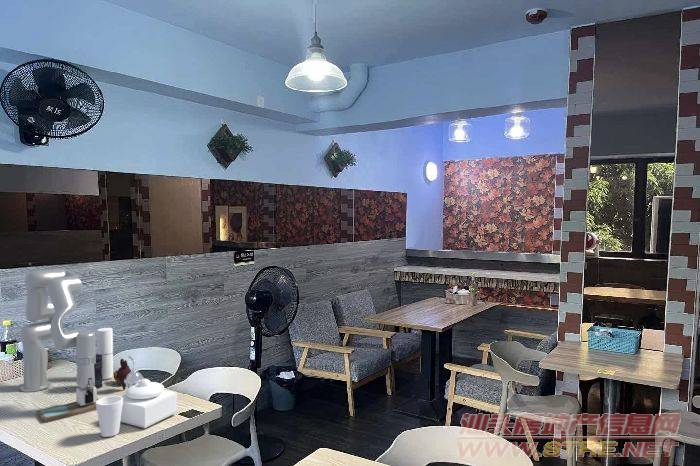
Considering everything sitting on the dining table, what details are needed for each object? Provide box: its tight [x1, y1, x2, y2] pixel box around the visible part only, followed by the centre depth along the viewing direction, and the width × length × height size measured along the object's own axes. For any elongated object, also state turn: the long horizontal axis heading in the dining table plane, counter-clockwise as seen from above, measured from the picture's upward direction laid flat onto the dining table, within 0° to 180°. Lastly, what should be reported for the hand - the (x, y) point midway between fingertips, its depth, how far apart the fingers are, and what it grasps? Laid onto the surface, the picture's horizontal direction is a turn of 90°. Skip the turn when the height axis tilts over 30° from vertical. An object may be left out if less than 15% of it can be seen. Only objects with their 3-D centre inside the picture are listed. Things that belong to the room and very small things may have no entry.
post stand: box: [36, 398, 99, 424], centre depth 209 cm, size 12×23×8 cm, turn 135°
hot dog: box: [113, 369, 122, 386], centre depth 244 cm, size 5×13×5 cm, turn 42°
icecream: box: [116, 358, 132, 391], centre depth 233 cm, size 7×7×15 cm
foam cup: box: [95, 395, 123, 438], centre depth 188 cm, size 10×9×13 cm
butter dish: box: [120, 378, 178, 429], centre depth 204 cm, size 18×18×16 cm
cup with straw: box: [124, 355, 145, 391], centre depth 219 cm, size 8×9×20 cm
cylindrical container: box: [96, 327, 114, 380], centre depth 252 cm, size 7×7×25 cm
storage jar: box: [94, 353, 104, 390], centre depth 237 cm, size 10×10×15 cm
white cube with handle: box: [75, 386, 98, 406], centre depth 213 cm, size 6×6×7 cm
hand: (86, 400), depth 213 cm, fingers closed on white cube with handle, 6 cm apart
